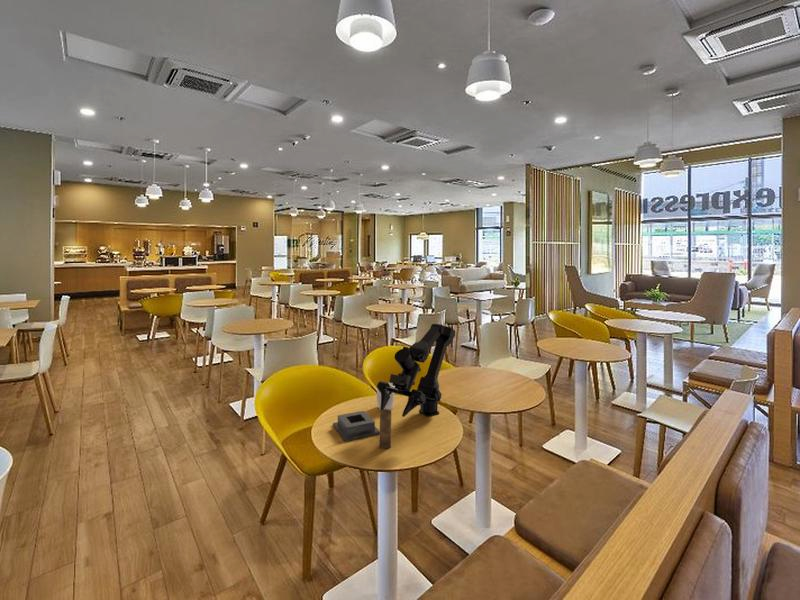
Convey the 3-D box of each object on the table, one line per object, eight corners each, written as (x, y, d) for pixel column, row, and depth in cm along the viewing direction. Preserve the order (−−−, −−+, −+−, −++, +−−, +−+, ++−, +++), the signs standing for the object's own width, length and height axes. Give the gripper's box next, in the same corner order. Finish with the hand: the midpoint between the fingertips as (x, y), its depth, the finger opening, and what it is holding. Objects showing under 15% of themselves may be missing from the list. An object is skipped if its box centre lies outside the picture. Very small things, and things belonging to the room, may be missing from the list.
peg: (387, 442, 149) (388, 408, 147) (392, 447, 146) (393, 413, 144) (377, 444, 148) (378, 410, 146) (382, 450, 144) (382, 415, 142)
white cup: (386, 413, 174) (387, 390, 172) (372, 408, 179) (372, 386, 177) (398, 407, 180) (398, 385, 179) (384, 402, 185) (384, 381, 183)
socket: (365, 419, 168) (366, 408, 167) (379, 434, 155) (380, 422, 155) (332, 425, 162) (332, 414, 161) (344, 441, 149) (344, 430, 148)
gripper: (379, 360, 155) (361, 397, 147) (423, 369, 146) (406, 410, 138) (390, 374, 163) (373, 410, 155) (432, 384, 154) (417, 423, 146)
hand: (391, 413), depth 148 cm, fingers open, 9 cm apart
